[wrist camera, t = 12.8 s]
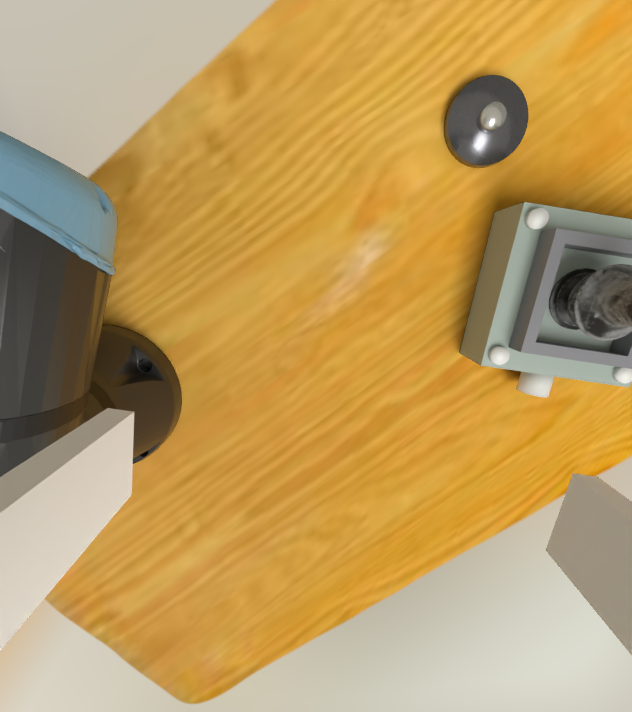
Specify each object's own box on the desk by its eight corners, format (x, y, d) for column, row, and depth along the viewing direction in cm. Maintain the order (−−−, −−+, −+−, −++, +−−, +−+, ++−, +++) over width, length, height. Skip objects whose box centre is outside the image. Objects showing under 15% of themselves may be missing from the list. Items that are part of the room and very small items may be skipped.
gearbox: (454, 375, 37) (484, 397, 31) (494, 212, 34) (539, 196, 27) (581, 393, 38) (639, 420, 31) (635, 234, 34) (715, 225, 27)
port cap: (436, 161, 33) (444, 153, 31) (454, 75, 31) (464, 60, 29) (509, 173, 33) (523, 166, 31) (531, 88, 31) (547, 74, 29)
